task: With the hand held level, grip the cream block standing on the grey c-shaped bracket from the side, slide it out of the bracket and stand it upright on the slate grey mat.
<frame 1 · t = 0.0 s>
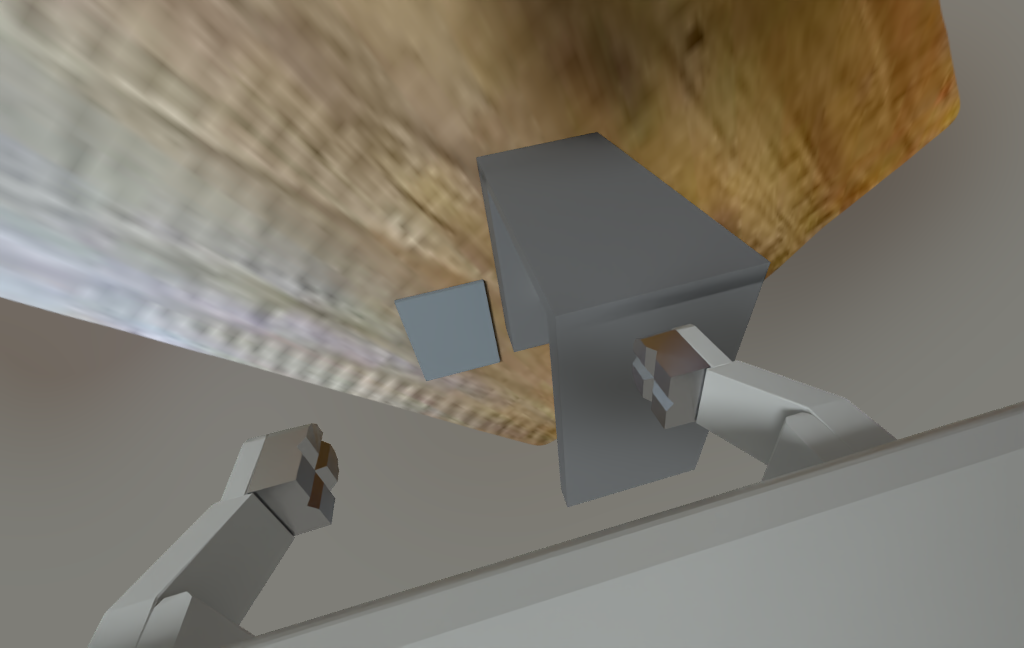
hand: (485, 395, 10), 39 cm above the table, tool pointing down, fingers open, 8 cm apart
mat: (452, 332, 60), on the table
grey c-shaped bracket: (545, 245, 54), on the table
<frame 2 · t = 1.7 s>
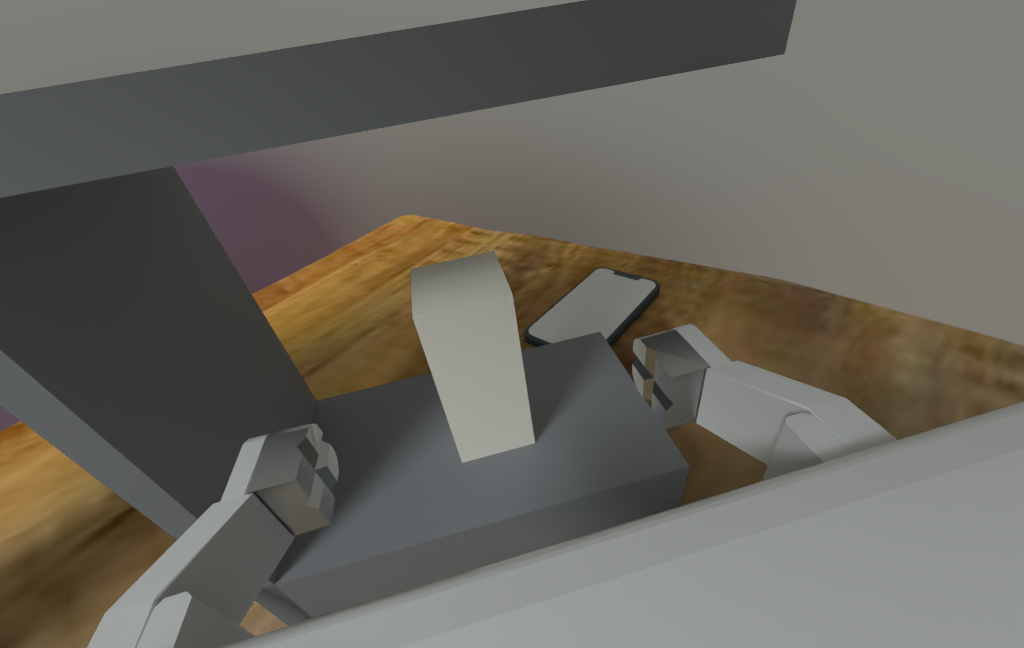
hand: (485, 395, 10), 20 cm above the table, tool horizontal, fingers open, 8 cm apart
grey c-shaped bracket: (477, 471, 32), on the table
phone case: (594, 318, 47), on the table
block: (492, 424, 29), point 5 cm above the table, touching grey c-shaped bracket
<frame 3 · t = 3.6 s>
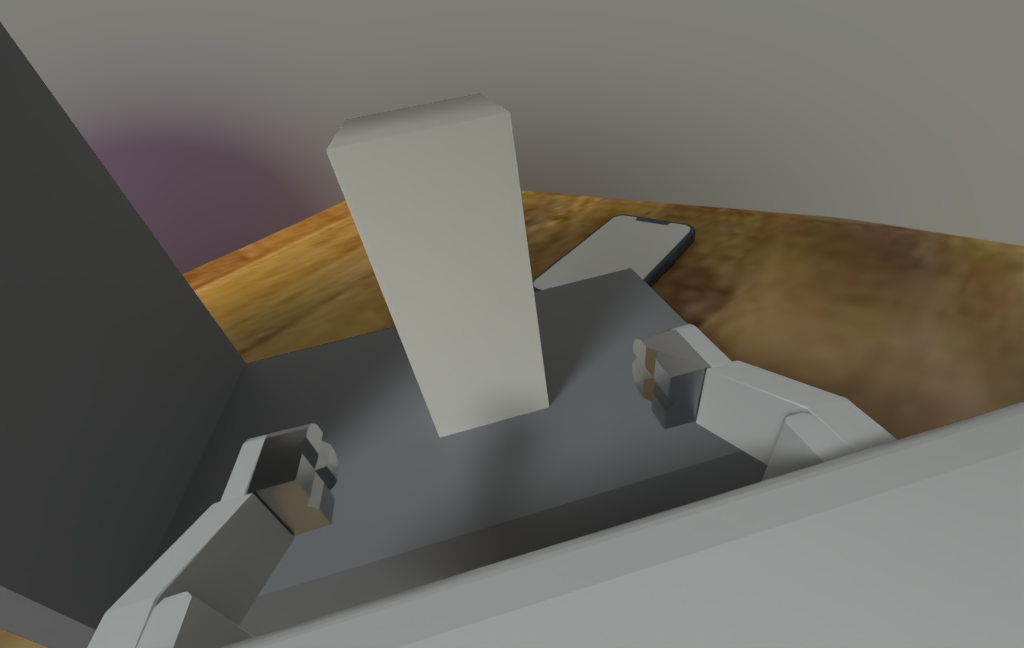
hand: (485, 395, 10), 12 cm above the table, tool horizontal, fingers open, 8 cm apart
grey c-shaped bracket: (467, 456, 23), on the table
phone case: (615, 271, 37), on the table
block: (485, 384, 20), point 5 cm above the table, touching grey c-shaped bracket
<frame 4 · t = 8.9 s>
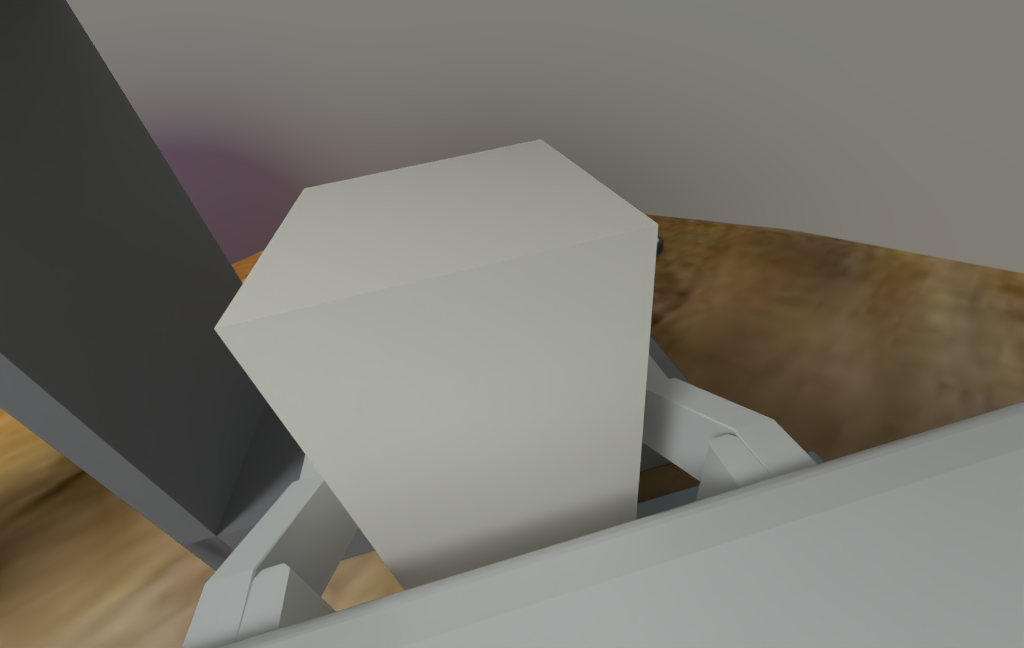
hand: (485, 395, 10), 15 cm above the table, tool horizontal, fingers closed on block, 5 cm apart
mat: (755, 621, 18), on the table
grey c-shaped bracket: (463, 425, 29), on the table
block: (525, 550, 14), point 8 cm above the table, touching gripper
when the fingers open (8 cm above the table, at t = 12.2 s): block stays where it is, resting on mat.
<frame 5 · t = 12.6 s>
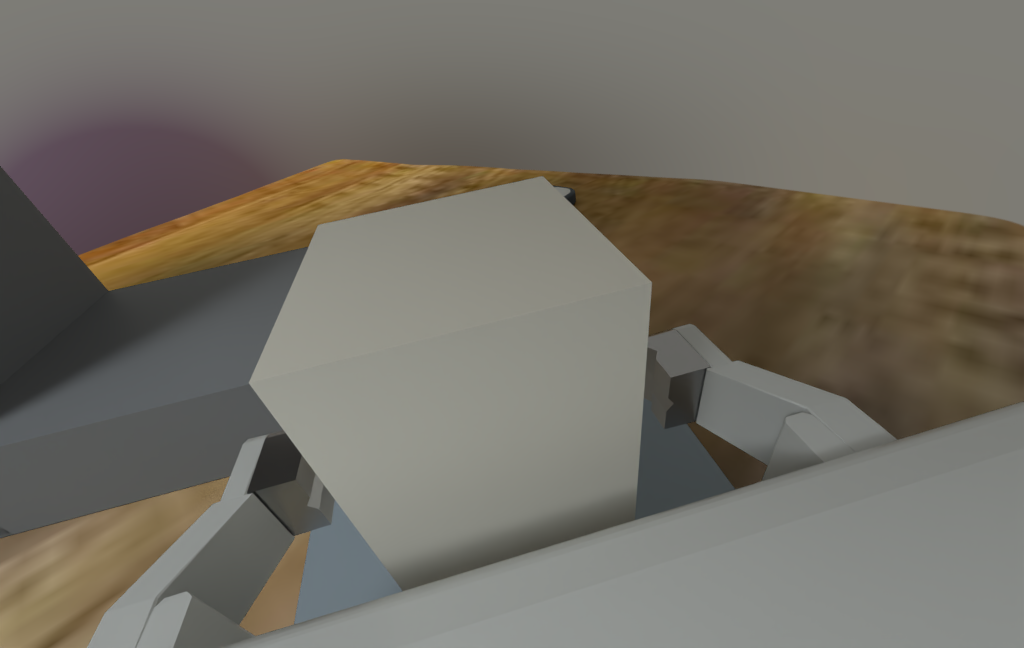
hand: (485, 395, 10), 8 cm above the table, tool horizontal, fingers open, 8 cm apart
mat: (530, 568, 14), on the table
grey c-shaped bracket: (298, 371, 25), on the table
block: (527, 561, 14), point 1 cm above the table, touching mat
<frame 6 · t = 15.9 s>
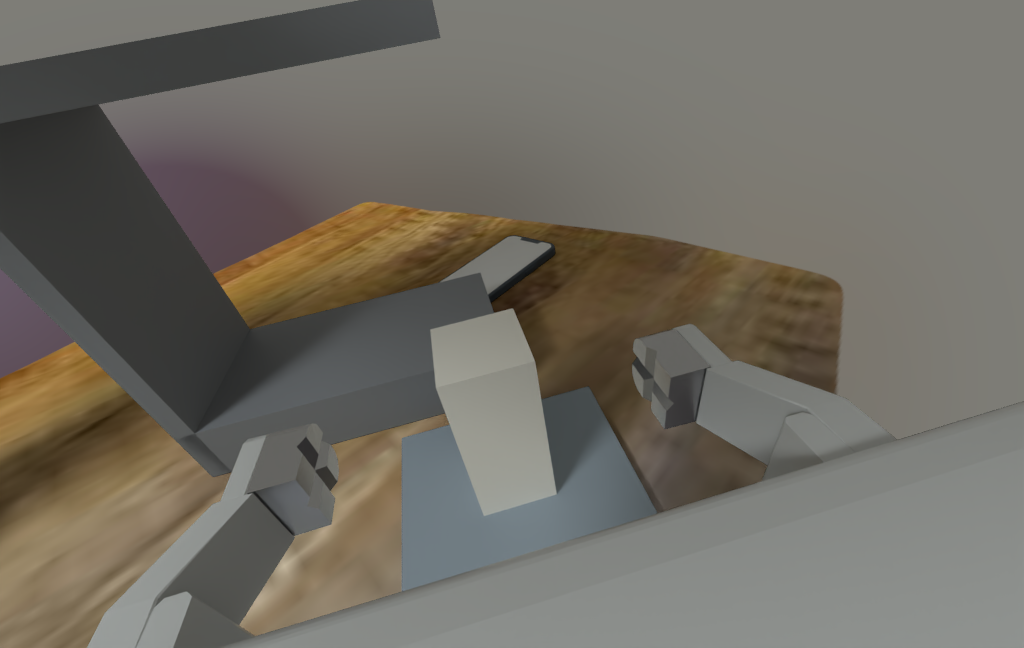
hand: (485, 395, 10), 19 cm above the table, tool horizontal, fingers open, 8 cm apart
mat: (514, 477, 29), on the table
grey c-shaped bracket: (373, 379, 41), on the table
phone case: (498, 275, 55), on the table
block: (512, 473, 29), point 1 cm above the table, touching mat
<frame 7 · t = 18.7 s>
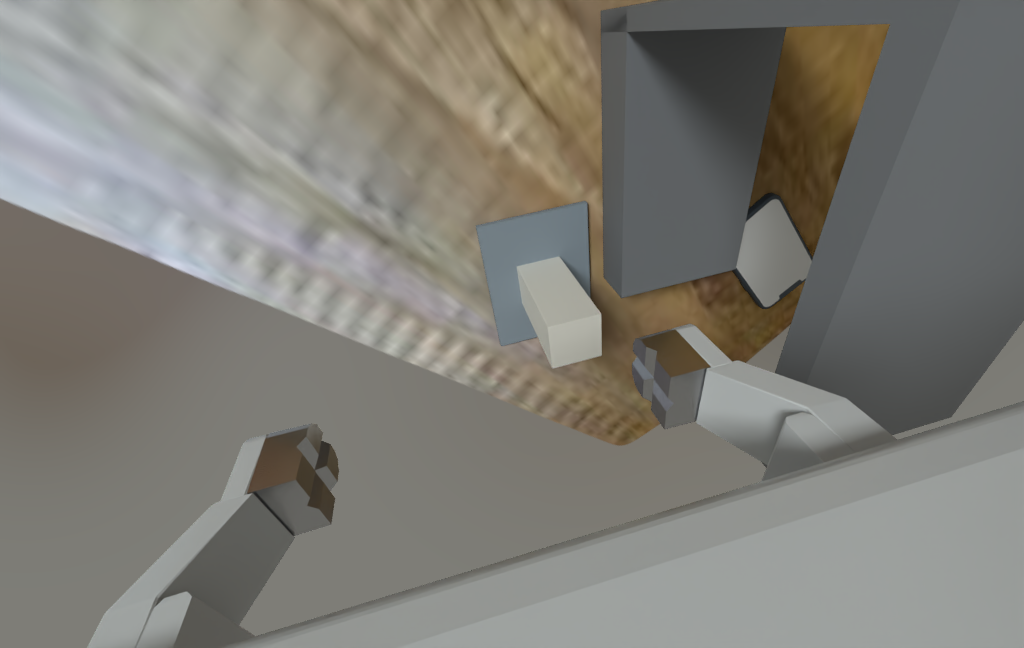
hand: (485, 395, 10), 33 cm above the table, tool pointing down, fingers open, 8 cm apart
mat: (538, 278, 48), on the table
grey c-shaped bracket: (665, 154, 43), on the table
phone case: (761, 252, 54), on the table
block: (540, 280, 47), point 1 cm above the table, touching mat
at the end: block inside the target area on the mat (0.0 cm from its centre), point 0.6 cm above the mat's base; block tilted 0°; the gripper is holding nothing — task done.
